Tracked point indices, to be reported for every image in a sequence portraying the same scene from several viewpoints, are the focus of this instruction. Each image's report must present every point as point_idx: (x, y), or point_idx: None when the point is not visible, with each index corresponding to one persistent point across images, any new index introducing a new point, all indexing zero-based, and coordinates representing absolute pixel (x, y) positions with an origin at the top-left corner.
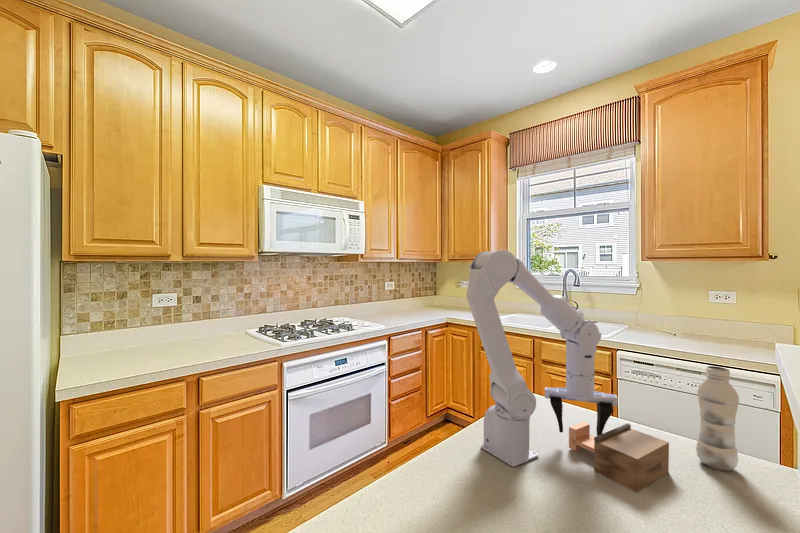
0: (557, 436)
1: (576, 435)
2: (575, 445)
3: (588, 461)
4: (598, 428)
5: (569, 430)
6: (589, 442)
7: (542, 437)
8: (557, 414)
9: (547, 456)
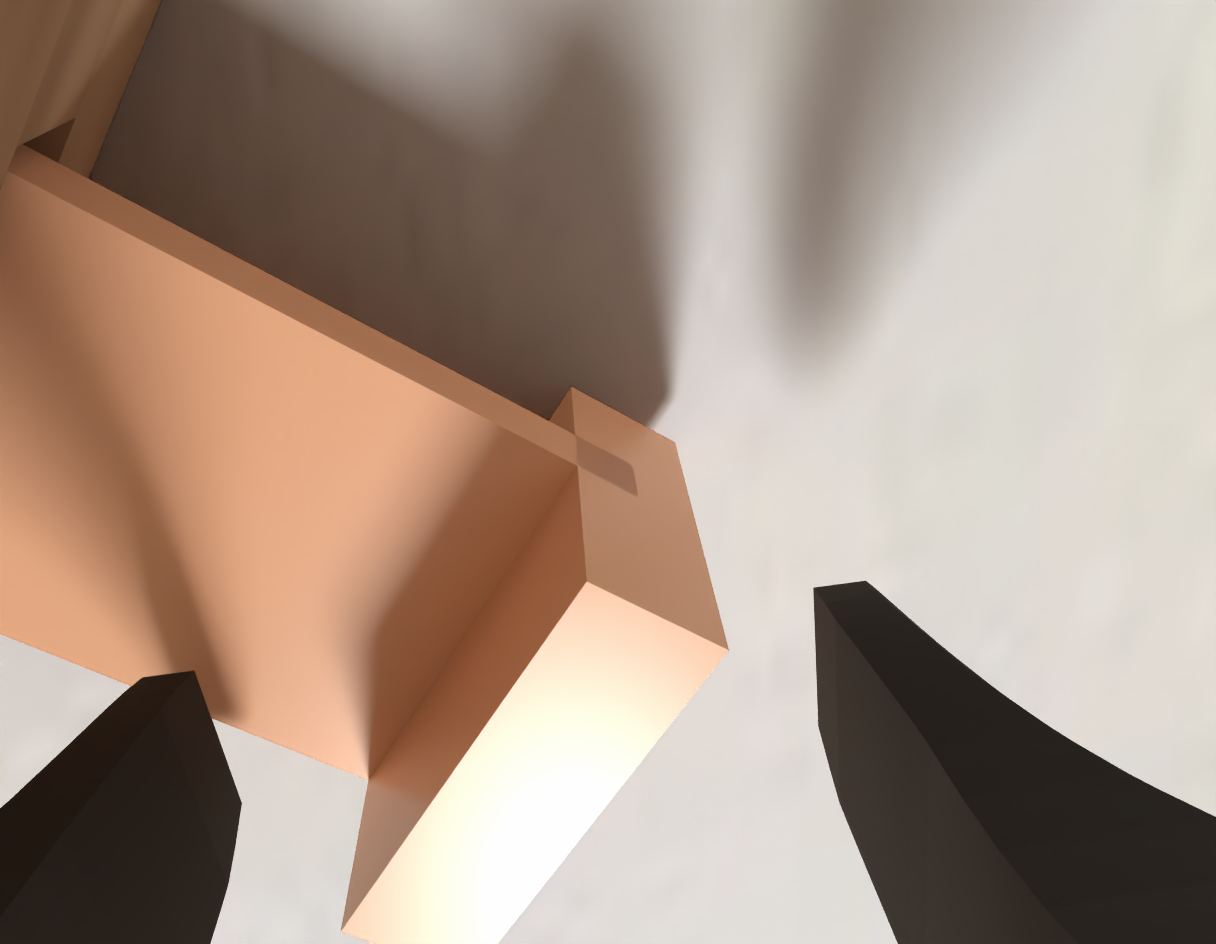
0: None
1: (566, 535)
2: (575, 428)
3: (357, 173)
4: (131, 802)
5: (707, 604)
6: (336, 506)
7: (1043, 621)
8: (1093, 783)
9: (1018, 11)
